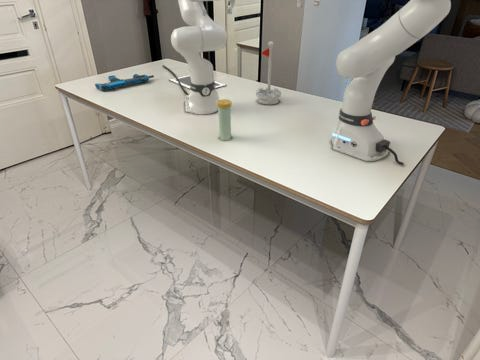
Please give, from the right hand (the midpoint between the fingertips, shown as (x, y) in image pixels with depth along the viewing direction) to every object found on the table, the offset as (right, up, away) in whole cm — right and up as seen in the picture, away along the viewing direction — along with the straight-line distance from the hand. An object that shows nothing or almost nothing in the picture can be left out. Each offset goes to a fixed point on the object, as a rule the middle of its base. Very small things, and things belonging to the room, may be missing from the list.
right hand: (308, 6), depth 134 cm
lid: (-33, -38, +2) cm, 50 cm away
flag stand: (-12, -27, +47) cm, 55 cm away
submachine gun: (-98, -9, +75) cm, 124 cm away
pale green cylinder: (-33, -51, +10) cm, 62 cm away
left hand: (-35, -10, -13) cm, 39 cm away
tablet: (-53, -9, +74) cm, 92 cm away
